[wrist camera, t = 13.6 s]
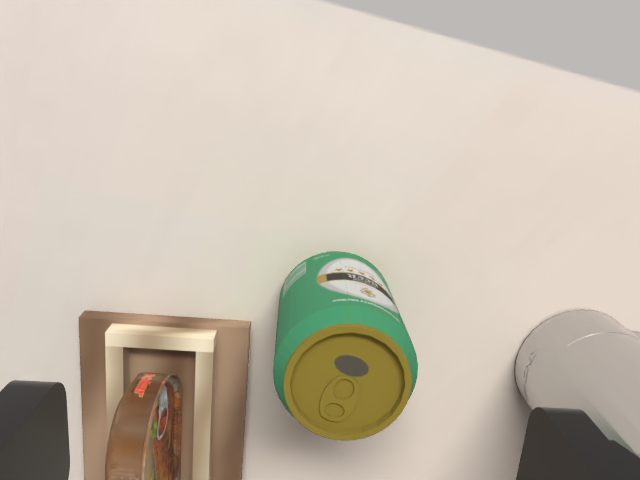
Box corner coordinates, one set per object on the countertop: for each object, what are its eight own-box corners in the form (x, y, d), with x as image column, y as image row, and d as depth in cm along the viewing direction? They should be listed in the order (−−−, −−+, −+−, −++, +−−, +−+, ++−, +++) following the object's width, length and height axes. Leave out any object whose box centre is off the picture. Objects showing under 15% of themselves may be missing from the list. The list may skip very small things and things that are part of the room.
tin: (179, 521, 45) (153, 619, 37) (139, 519, 44) (104, 617, 36) (184, 351, 41) (155, 419, 32) (140, 348, 40) (100, 416, 32)
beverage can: (405, 268, 41) (447, 344, 29) (363, 361, 43) (387, 466, 31) (302, 231, 40) (303, 295, 28) (264, 328, 42) (251, 425, 30)
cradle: (250, 321, 41) (247, 337, 39) (238, 536, 47) (234, 563, 44) (85, 310, 41) (70, 326, 38) (91, 530, 46) (79, 557, 43)
